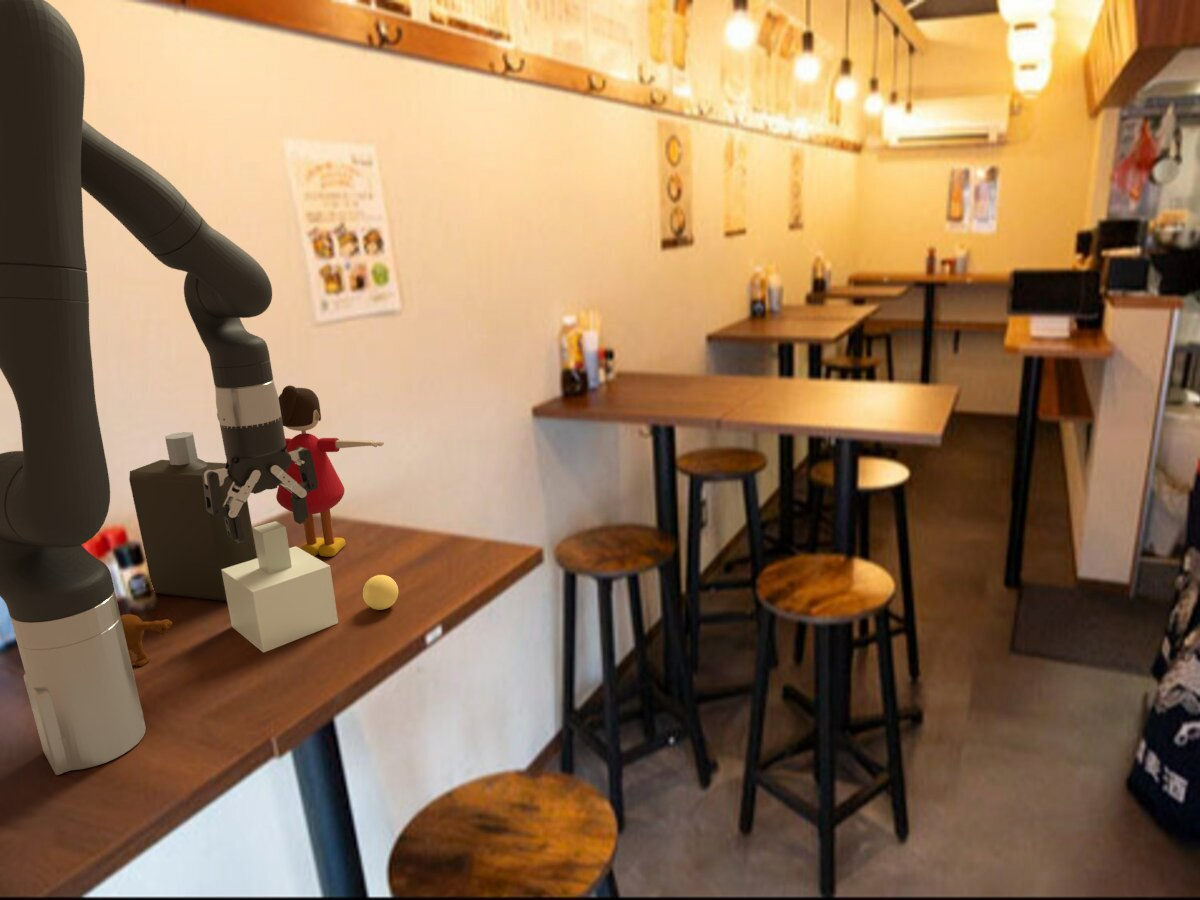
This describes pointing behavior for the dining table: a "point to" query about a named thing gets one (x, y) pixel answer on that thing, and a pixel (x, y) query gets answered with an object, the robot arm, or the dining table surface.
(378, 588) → the ball
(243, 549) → the bottle
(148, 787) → the dining table surface
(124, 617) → the toy figurine
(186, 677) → the dining table surface
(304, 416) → the toy
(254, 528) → the cover
